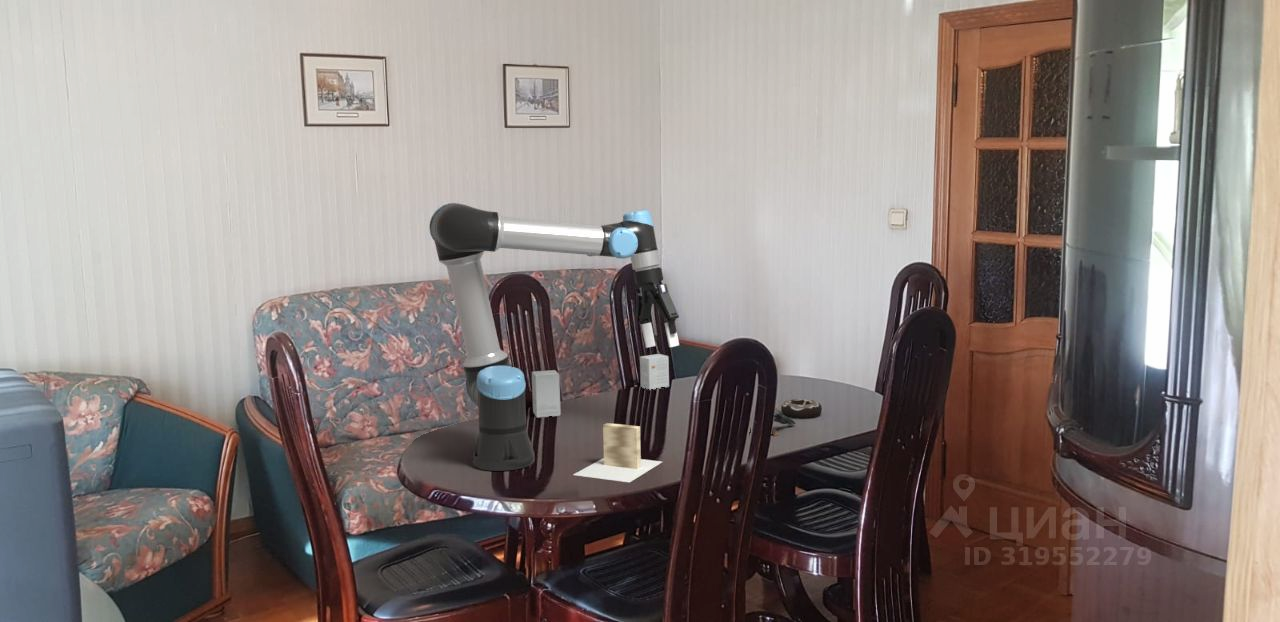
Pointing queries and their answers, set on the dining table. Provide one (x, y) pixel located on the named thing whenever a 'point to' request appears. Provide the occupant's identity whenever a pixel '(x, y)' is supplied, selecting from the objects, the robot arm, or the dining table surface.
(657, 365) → the small box
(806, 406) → the donut
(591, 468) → the rubber mat
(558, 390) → the supplement box
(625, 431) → the birch slab
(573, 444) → the dining table surface
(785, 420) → the bird figurine
